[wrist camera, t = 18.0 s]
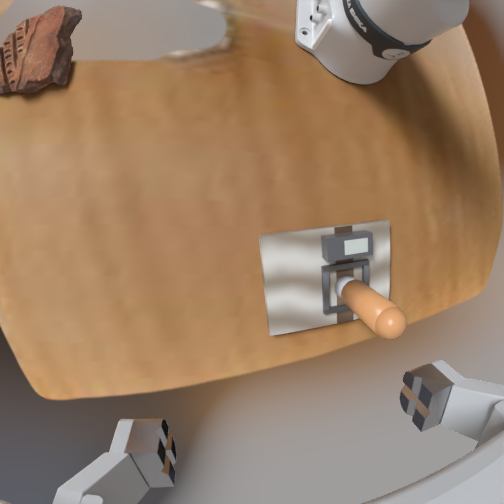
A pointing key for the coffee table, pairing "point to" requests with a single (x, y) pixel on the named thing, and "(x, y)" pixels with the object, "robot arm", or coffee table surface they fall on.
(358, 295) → the tan rounded rod
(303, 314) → the metal mounting plate
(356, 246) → the block
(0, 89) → the pottery shard
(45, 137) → the coffee table surface
